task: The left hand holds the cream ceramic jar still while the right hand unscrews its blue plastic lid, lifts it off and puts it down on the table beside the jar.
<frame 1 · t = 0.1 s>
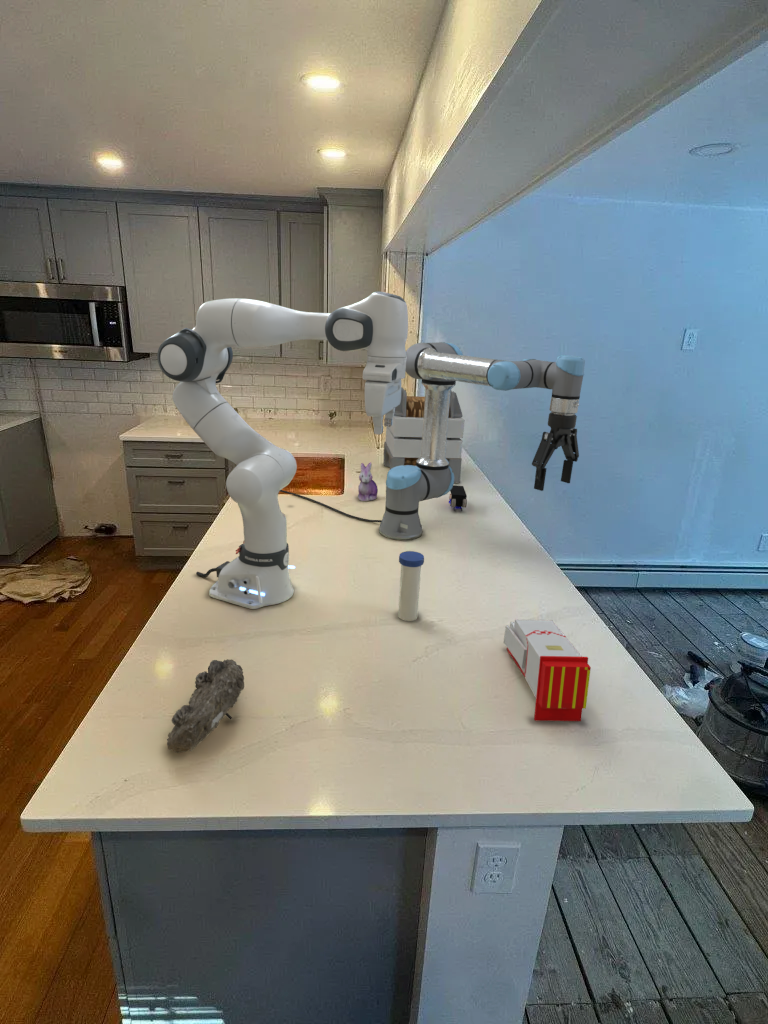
left hand: (383, 430, 132), 48 cm above the counter, tool pointing down, fingers open, 8 cm apart
right hand: (552, 485, 166), 28 cm above the counter, tool pointing down, fingers open, 13 cm apart
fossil: (212, 717, 108), on the counter
lid: (411, 557, 141), point 17 cm above the counter, screwed on, not yet turned
figurine: (367, 498, 235), on the counter
feather: (282, 518, 209), on the counter
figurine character: (456, 507, 229), on the counter
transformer: (419, 473, 275), on the counter
toy: (537, 679, 124), on the counter
jar: (407, 616, 147), on the counter
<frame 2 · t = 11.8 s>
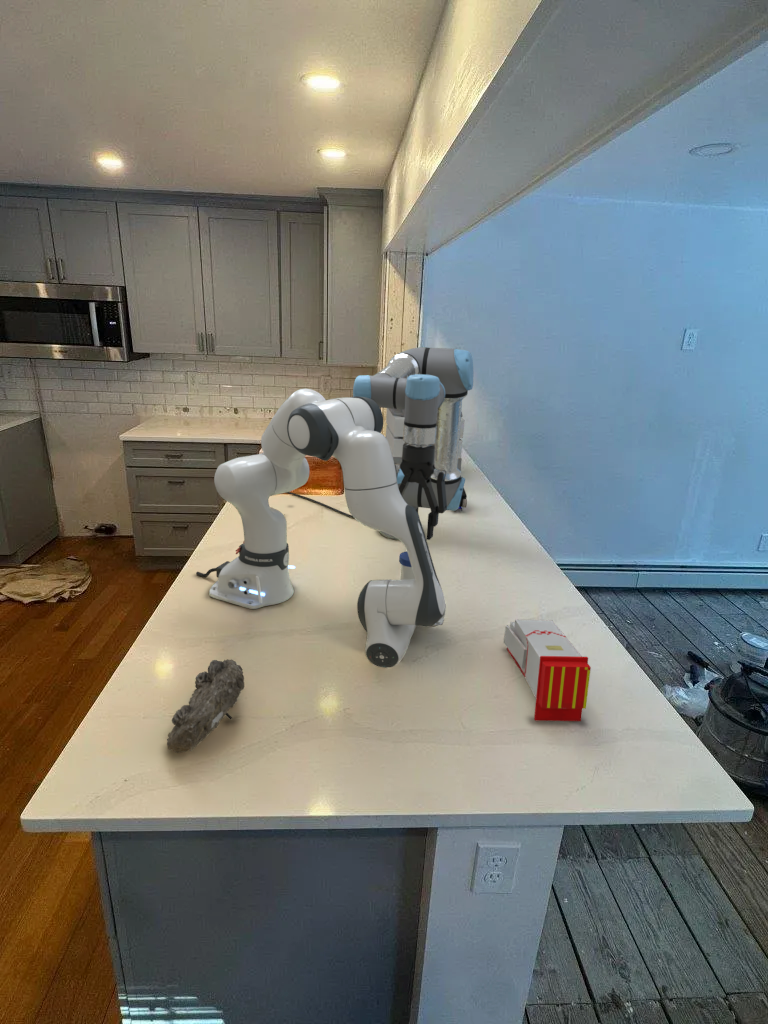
left hand: (409, 592, 145), 6 cm above the counter, tool horizontal, fingers closed on jar, 5 cm apart
right hand: (413, 534, 139), 23 cm above the counter, tool pointing down, fingers open, 8 cm apart
jar: (407, 616, 147), on the counter, touching left hand
everything else where it was.
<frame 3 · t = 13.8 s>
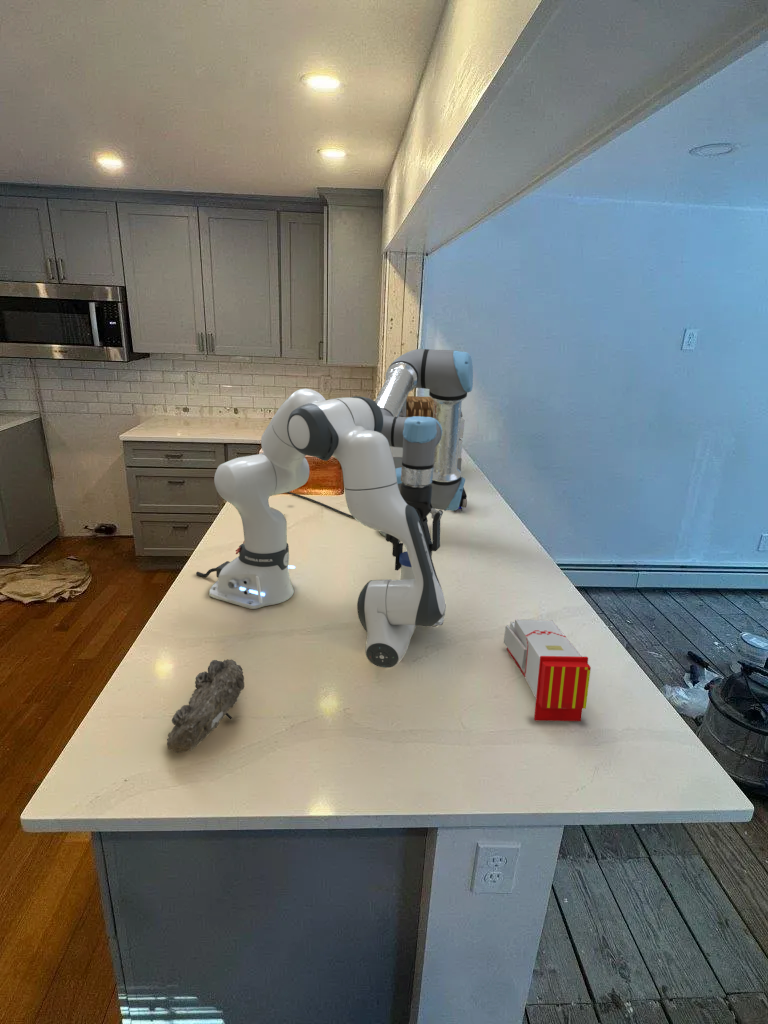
left hand: (409, 592, 145), 6 cm above the counter, tool horizontal, fingers closed on jar, 5 cm apart
right hand: (410, 571, 142), 13 cm above the counter, tool pointing down, fingers closed on lid, 6 cm apart
lid: (411, 557, 141), point 17 cm above the counter, screwed on, not yet turned, touching right hand
jar: (407, 616, 147), on the counter, touching left hand
everything else where it was.
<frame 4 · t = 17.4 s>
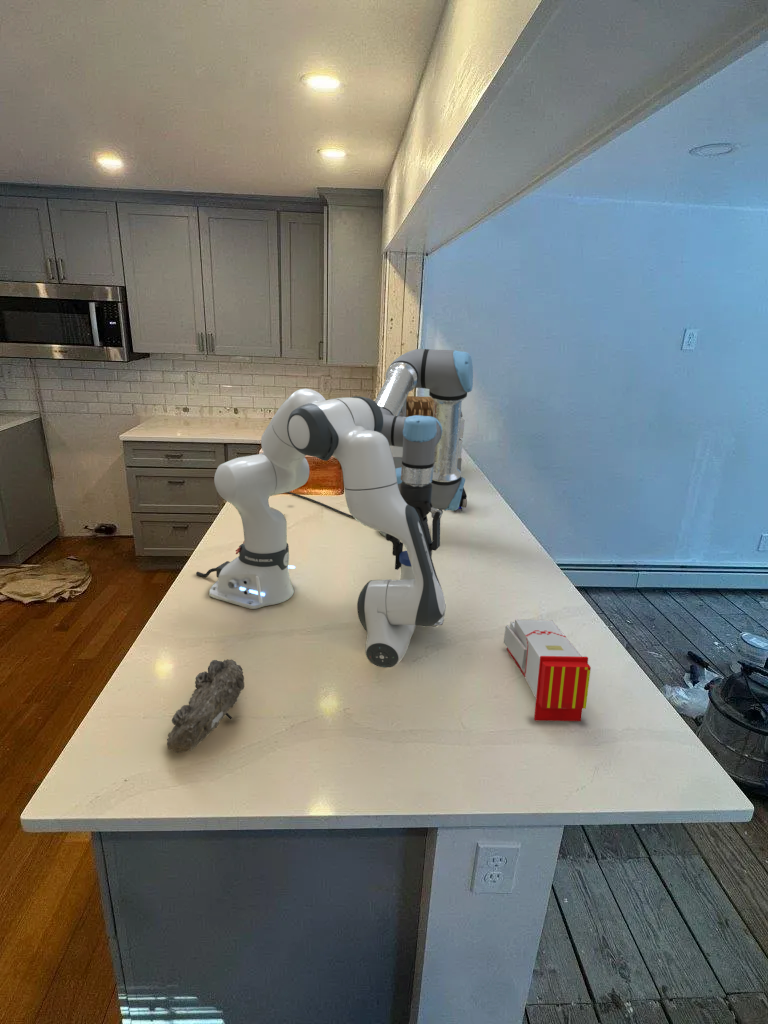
left hand: (409, 592, 145), 6 cm above the counter, tool horizontal, fingers closed on jar, 5 cm apart
right hand: (410, 570, 142), 13 cm above the counter, tool pointing down, fingers closed on lid, 6 cm apart
lid: (411, 556, 141), point 17 cm above the counter, turned 142° so far, risen 0.2 cm, still on its thread, touching right hand
jar: (407, 616, 147), on the counter, touching left hand
everything else where it was.
when the right hand's fingers open (0 cm above the counter, at t = 28.2 s): lid stays where it is, point 1 cm above the counter.
when the left hand's fingers open (6 cm above the counter, at t = 29.2 s): jar stays where it is, on the counter.
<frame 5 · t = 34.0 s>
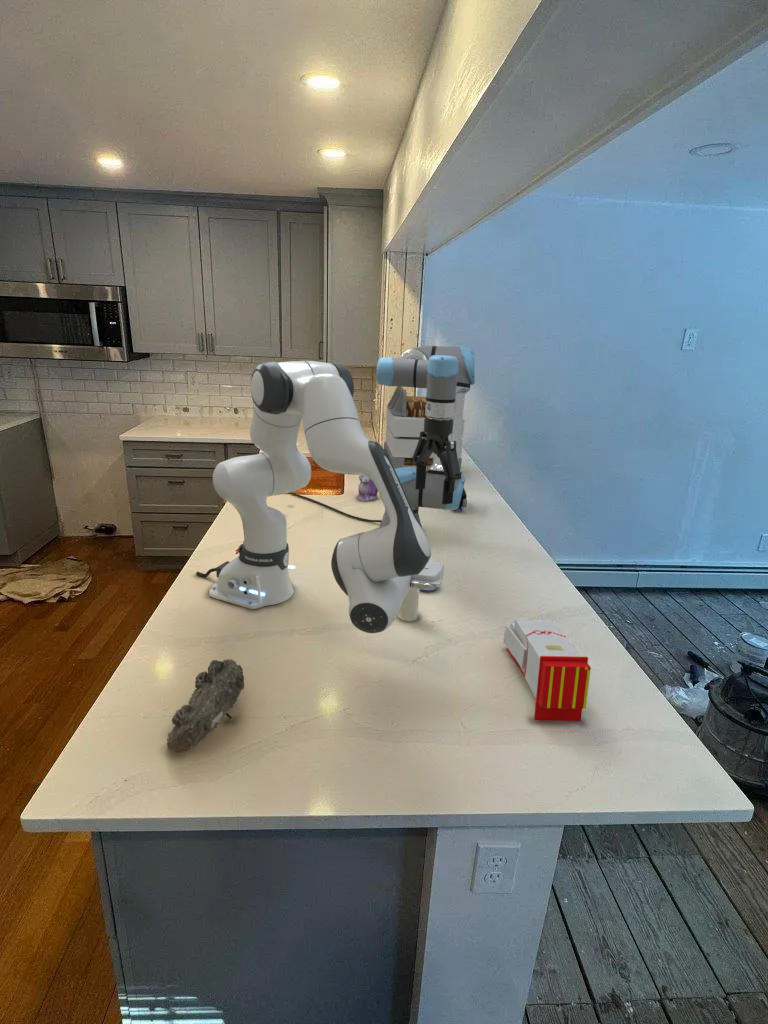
left hand: (403, 555, 128), 22 cm above the counter, tool horizontal, fingers open, 8 cm apart
right hand: (433, 495, 153), 27 cm above the counter, tool pointing down, fingers open, 13 cm apart
lid: (426, 583, 162), point 1 cm above the counter, off its thread
jar: (407, 616, 147), on the counter
everything else where it was.
at the end: lid came off its thread; lid point 1.3 cm above the counter; the left hand is holding nothing; the right hand is holding nothing; jar tilted 0°; jar moved 0.0 cm from its start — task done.
